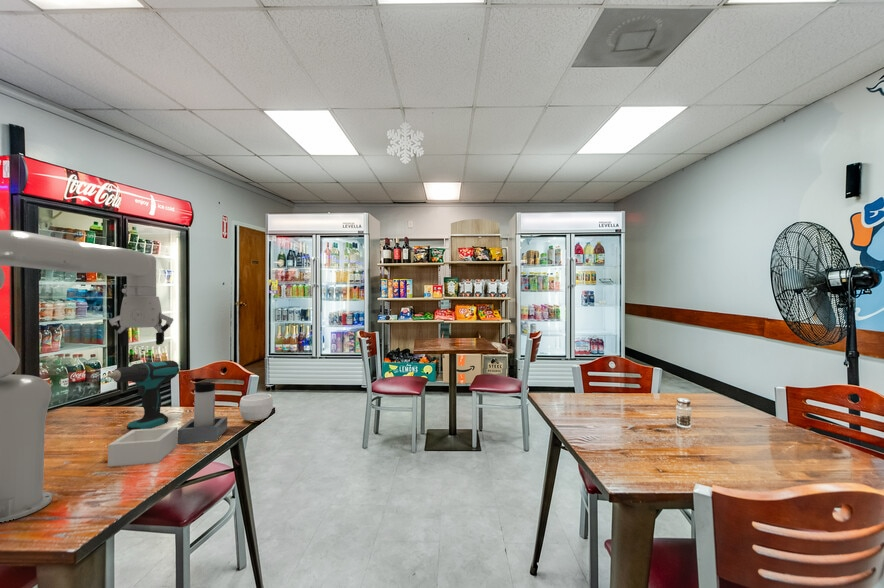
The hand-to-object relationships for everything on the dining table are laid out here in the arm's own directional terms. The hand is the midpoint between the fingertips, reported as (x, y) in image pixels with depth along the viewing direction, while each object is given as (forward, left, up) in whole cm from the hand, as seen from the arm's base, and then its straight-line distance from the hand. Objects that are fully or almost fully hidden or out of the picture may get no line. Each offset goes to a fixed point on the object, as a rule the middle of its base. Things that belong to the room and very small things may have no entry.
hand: (142, 344), depth 122 cm
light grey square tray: (-4, -3, -35) cm, 35 cm away
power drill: (+26, +11, -35) cm, 45 cm away
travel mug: (+10, -15, -35) cm, 40 cm away
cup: (+26, -29, -35) cm, 52 cm away
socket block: (+10, -15, -35) cm, 39 cm away
